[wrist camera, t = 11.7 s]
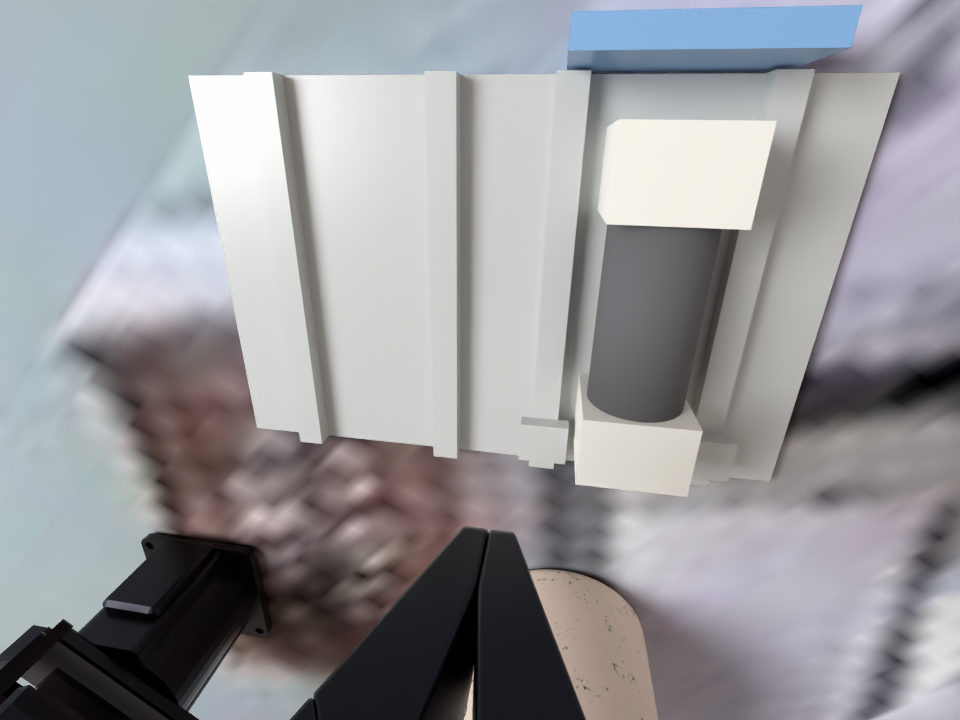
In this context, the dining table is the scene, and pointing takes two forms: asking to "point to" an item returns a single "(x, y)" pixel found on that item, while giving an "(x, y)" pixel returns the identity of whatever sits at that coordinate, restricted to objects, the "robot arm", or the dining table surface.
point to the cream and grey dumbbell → (659, 291)
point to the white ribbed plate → (526, 231)
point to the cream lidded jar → (596, 646)
